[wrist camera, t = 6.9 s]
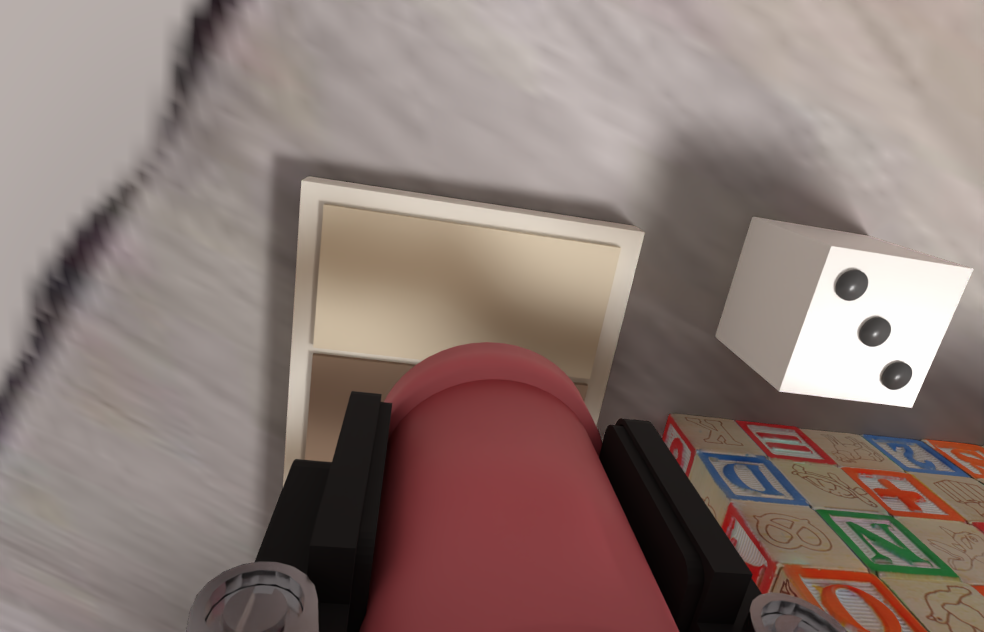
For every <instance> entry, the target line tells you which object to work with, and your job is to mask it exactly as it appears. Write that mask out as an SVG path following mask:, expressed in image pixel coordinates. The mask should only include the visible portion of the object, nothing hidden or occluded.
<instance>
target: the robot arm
mask: <svg viewBox="0 0 984 632" xmlns="http://www.w3.org/2000/svg"><path fill="white" fill-rule="evenodd" d="M381 396H382V394H376V393H367V392H357V391H351V394H350V397H349V401H348V405H347V409H346V412H345V416H344V420H343V423H342V427H341V431H340V434H339V438H338V442H337V446H336V449H335V453H334V457H333V460H332V462H325V461H313V460H302V459H295V460H294V461H293V463H292V465H291V468H290V470H289V473H288V476H287V478H286V481H285V484H284V486H283V489H282V491H281V494H280V497H279V499H278V502H277V505H276V507H275V510H274V513H273V515H272V518H271V521H270V523H269V526H268V529H267V531H266V534H265V537H264V539H263V542H262V544H261V547H260V550H259V552H258V555H257V558H256V560H255V562H254V563H248V564H242V565H239V566H237V567H234V568H232V569H229V570H227V571H224V572H222V573H221V574H220V575H218V576H217V577H215V578H214V579H212V580H211V581H209V582H208V583H207V584H206V585H205V586H204V587H203V589H202V590H201V591H200V592H199V593H198V594H197V595H196V598H195V600H194V603H193V605H192V607H191V610H190V613H189V618H188V623H187V628H186V632H359V630H360V628H361V625H362V622H363V620H364V617H365V615H366V611H367V603H368V595H369V587H370V579H371V571H372V563H373V555H374V547H375V539H376V531H377V523H378V515H379V507H380V499H381V491H382V483H383V475H384V467H385V459H386V451H387V443H388V435H389V427H390V419H391V411H392V403H387V402H381ZM599 459H600V461H601V464H602V466H603V468H604V470H605V472H606V474H607V477H608V479H609V481H610V483H611V485H612V487H613V490H614V492H615V494H616V496H617V498H618V500H619V502H620V505H621V507H622V509H623V511H624V513H625V515H626V518H627V520H628V522H629V524H630V526H631V528H632V531H633V533H634V535H635V537H636V539H637V541H638V543H639V546H640V548H641V550H642V552H643V554H644V556H645V559H646V561H647V563H648V565H649V567H650V569H651V571H652V574H653V576H654V578H655V580H656V582H657V584H658V587H659V589H660V591H661V593H662V595H663V597H664V600H665V602H666V604H667V606H668V608H669V610H670V612H671V615H672V617H673V619H674V621H675V623H676V625H677V628H678V630H679V632H848V631H847V630H846V629H845V628H844V627H843V626H842V625H841V624H840V623H839V622H838V621H836V620H835V619H834V618H833V617H832V616H830V615H829V614H828V613H826V612H825V611H823V610H822V609H820V608H819V607H817V606H815V605H813V604H811V603H809V602H807V601H805V600H803V599H801V598H798V597H795V596H791V595H788V594H784V593H773V592H770V593H765V594H762V593H761V591H760V590H759V588H758V587H757V585H756V584H755V582H754V581H753V579H752V575H753V574H752V572H751V571H750V569H749V568H748V566H747V565H746V563H745V562H744V560H743V559H742V557H741V556H740V554H739V553H738V551H737V550H736V549H735V547H734V546H733V544H732V543H731V541H730V540H729V538H728V537H727V535H726V534H725V532H724V531H723V529H722V528H721V526H720V525H719V523H718V522H717V520H716V519H715V517H714V516H713V514H712V513H711V511H710V510H709V508H708V507H707V505H706V504H705V502H704V501H703V499H702V498H701V496H700V495H699V493H698V492H697V490H696V489H695V487H694V486H693V484H692V483H691V481H690V480H689V478H688V477H687V475H686V474H685V472H684V471H683V469H682V468H681V466H680V465H679V463H678V462H677V460H676V459H675V457H674V456H673V454H672V453H671V451H670V450H669V448H668V447H667V445H666V444H665V442H664V441H663V439H662V438H661V436H660V435H659V433H658V432H657V431H656V429H655V428H654V426H653V425H652V423H651V422H649V421H640V420H630V419H619V420H618V421H617V423H616V425H609V426H608V427H607V429H606V432H605V436H604V439H603V443H602V447H601V451H600V455H599Z"/></svg>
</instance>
